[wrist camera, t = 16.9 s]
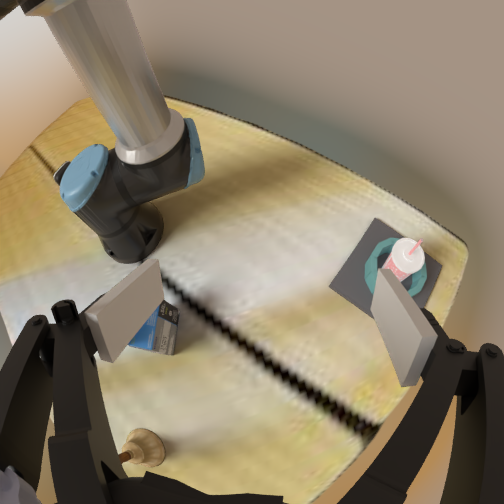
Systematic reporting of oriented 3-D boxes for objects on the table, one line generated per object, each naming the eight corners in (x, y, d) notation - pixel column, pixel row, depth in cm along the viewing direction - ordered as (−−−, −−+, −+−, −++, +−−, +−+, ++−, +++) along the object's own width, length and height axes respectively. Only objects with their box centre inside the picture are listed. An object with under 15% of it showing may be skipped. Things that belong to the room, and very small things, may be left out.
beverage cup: (404, 292, 45) (439, 262, 32) (375, 287, 46) (404, 254, 34) (405, 262, 47) (436, 226, 35) (377, 257, 49) (403, 218, 36)
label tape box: (173, 356, 46) (142, 348, 35) (154, 352, 46) (119, 343, 35) (180, 310, 49) (153, 290, 38) (161, 307, 50) (130, 287, 39)
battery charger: (76, 204, 65) (54, 180, 55) (72, 199, 66) (50, 176, 56) (92, 186, 67) (72, 161, 57) (87, 182, 68) (67, 157, 58)
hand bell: (163, 431, 40) (116, 447, 25) (167, 469, 36) (125, 497, 22) (125, 425, 40) (72, 434, 26) (129, 462, 36) (80, 481, 22)
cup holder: (328, 286, 48) (333, 277, 44) (373, 220, 53) (380, 206, 49) (404, 341, 42) (415, 336, 38) (440, 267, 47) (451, 257, 43)
